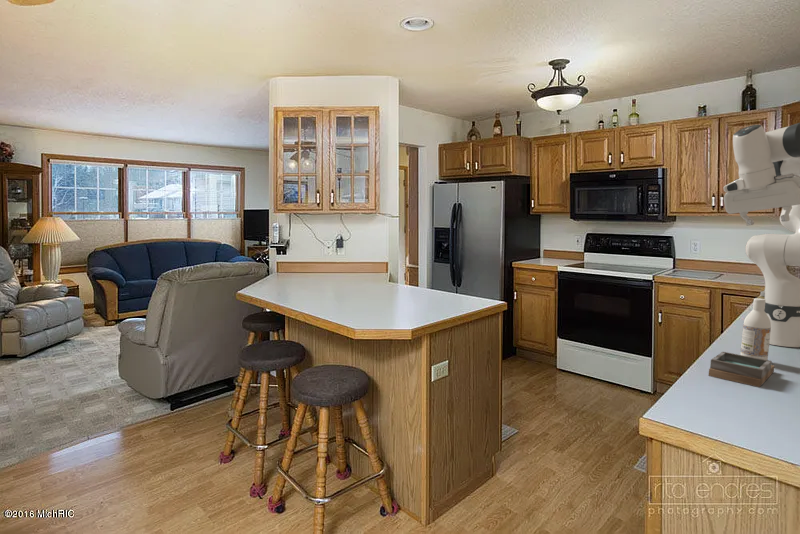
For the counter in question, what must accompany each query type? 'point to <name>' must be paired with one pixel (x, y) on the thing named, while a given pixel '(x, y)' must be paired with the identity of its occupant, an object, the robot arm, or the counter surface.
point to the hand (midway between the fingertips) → (767, 223)
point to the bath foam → (756, 332)
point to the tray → (741, 368)
